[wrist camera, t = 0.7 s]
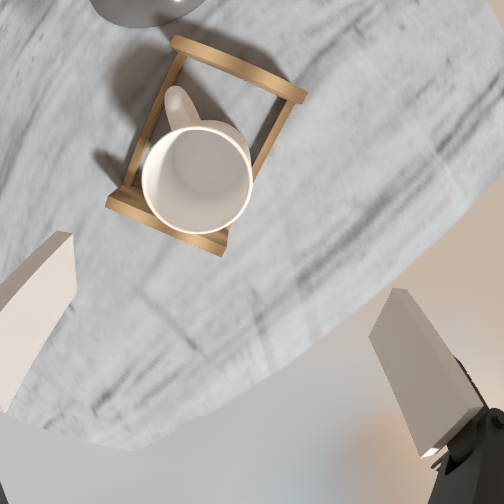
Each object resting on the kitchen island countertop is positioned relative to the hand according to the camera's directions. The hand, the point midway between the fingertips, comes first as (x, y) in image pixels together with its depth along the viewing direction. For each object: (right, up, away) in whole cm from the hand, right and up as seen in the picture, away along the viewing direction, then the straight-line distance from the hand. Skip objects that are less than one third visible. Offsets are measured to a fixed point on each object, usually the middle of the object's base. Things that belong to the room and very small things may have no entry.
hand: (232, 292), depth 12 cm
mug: (-4, +13, +19) cm, 23 cm away
